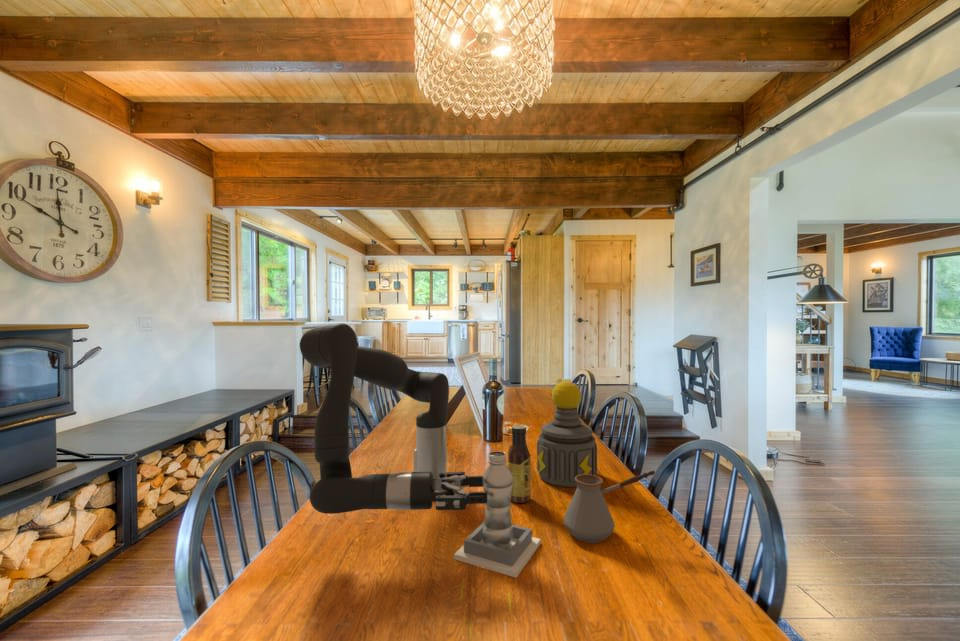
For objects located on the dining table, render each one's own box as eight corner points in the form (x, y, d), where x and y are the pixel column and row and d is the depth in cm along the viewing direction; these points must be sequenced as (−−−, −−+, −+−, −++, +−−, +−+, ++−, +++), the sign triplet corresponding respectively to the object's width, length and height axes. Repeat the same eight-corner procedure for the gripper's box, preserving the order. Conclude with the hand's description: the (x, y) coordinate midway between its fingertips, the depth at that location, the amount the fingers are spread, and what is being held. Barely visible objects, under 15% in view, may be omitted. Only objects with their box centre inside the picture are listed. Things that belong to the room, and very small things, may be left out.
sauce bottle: (529, 505, 114) (529, 431, 114) (506, 503, 115) (506, 429, 115) (531, 495, 120) (531, 424, 120) (509, 493, 121) (509, 423, 121)
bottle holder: (454, 559, 89) (454, 542, 89) (484, 528, 101) (484, 514, 101) (516, 577, 82) (516, 559, 82) (540, 543, 95) (540, 527, 95)
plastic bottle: (481, 539, 95) (480, 449, 94) (511, 537, 95) (510, 448, 95) (483, 555, 88) (482, 459, 88) (516, 553, 89) (515, 458, 89)
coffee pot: (567, 547, 93) (567, 478, 93) (560, 521, 105) (560, 460, 105) (667, 549, 92) (667, 480, 92) (649, 523, 104) (649, 462, 103)
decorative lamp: (572, 462, 146) (572, 375, 146) (611, 482, 129) (610, 383, 129) (525, 471, 138) (524, 379, 138) (560, 493, 121) (559, 388, 121)
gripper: (405, 486, 84) (488, 484, 84) (413, 461, 98) (484, 460, 99) (406, 524, 84) (488, 522, 85) (413, 494, 98) (484, 492, 99)
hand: (486, 488), depth 92 cm, fingers open, 8 cm apart
